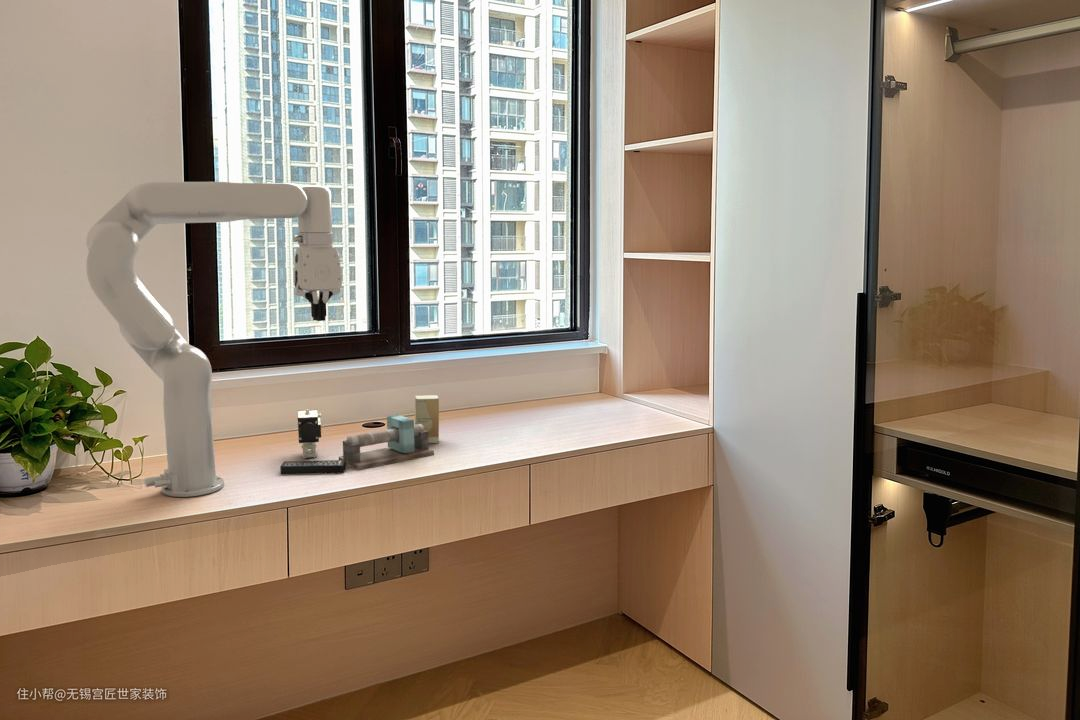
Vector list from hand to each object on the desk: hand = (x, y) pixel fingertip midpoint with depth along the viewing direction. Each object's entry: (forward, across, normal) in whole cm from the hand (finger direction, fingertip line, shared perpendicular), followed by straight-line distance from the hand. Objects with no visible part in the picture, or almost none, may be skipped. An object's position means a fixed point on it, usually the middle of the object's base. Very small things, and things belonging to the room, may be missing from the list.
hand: (319, 320), depth 195 cm
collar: (+34, +19, -3) cm, 39 cm away
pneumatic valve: (+35, +1, +10) cm, 37 cm away
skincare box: (+35, +31, +4) cm, 47 cm away
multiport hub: (+36, -4, -2) cm, 36 cm away
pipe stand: (+35, +15, -3) cm, 38 cm away
